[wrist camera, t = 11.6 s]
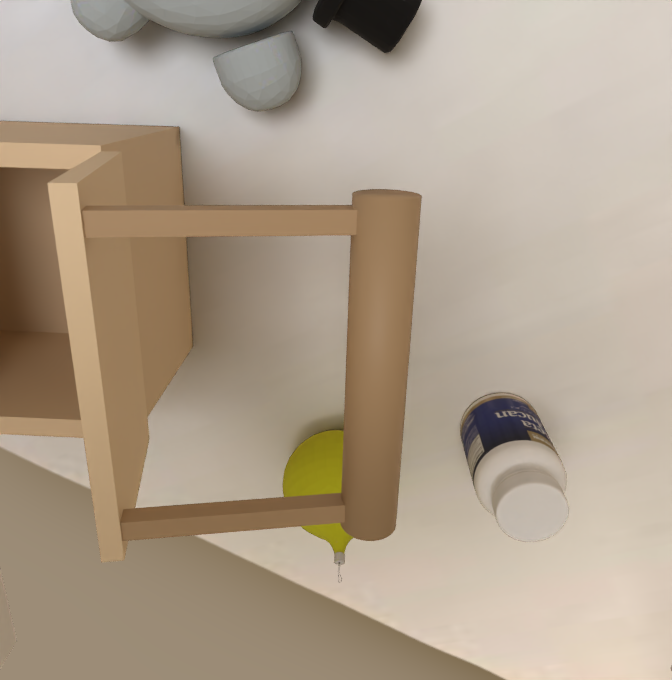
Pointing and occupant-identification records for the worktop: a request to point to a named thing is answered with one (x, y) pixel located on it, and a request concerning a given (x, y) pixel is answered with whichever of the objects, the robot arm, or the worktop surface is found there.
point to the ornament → (319, 481)
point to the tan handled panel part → (126, 362)
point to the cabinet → (44, 274)
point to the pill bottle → (515, 467)
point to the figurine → (243, 19)
